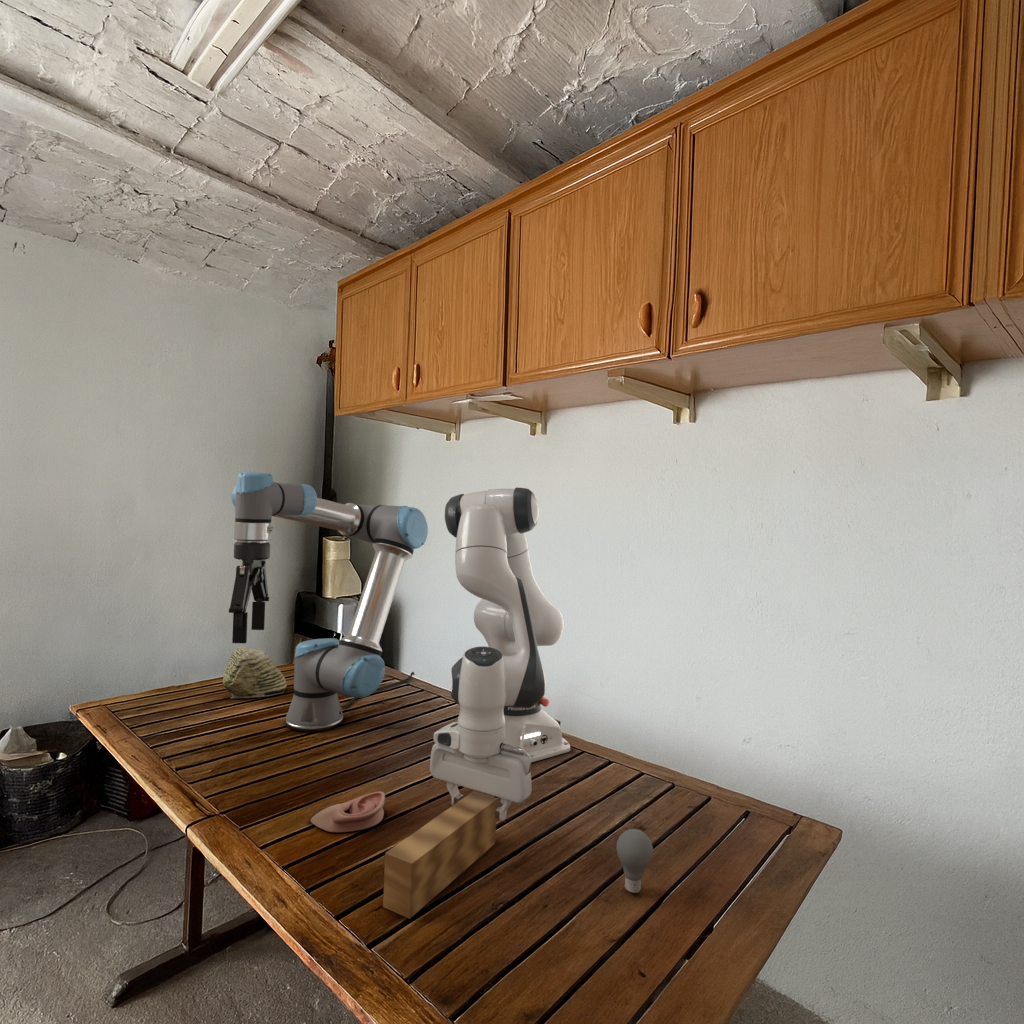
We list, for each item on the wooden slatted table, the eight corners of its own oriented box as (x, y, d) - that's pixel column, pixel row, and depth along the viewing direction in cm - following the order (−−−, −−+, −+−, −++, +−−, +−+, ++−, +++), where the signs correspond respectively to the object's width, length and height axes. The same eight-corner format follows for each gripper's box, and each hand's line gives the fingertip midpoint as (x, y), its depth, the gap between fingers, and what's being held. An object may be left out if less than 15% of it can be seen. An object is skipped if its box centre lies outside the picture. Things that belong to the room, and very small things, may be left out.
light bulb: (610, 879, 108) (613, 822, 108) (644, 879, 109) (647, 822, 109) (619, 902, 102) (622, 840, 102) (655, 901, 103) (658, 840, 103)
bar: (409, 919, 96) (411, 863, 96) (382, 907, 99) (384, 852, 99) (495, 843, 119) (497, 798, 118) (471, 834, 121) (473, 790, 121)
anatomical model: (303, 807, 121) (332, 781, 132) (302, 827, 121) (331, 800, 132) (368, 817, 118) (392, 790, 129) (367, 838, 118) (391, 809, 129)
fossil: (218, 695, 195) (220, 647, 195) (278, 685, 208) (279, 640, 207) (228, 703, 189) (230, 653, 188) (289, 692, 201) (290, 645, 201)
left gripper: (253, 546, 129) (249, 649, 130) (283, 538, 154) (280, 625, 155) (215, 545, 129) (211, 648, 129) (251, 537, 153) (248, 624, 154)
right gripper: (539, 744, 114) (536, 819, 115) (445, 721, 124) (443, 790, 125) (523, 757, 109) (520, 836, 109) (426, 731, 118) (424, 804, 119)
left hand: (249, 636), depth 142 cm, fingers open, 13 cm apart
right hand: (478, 811), depth 117 cm, fingers open, 8 cm apart
